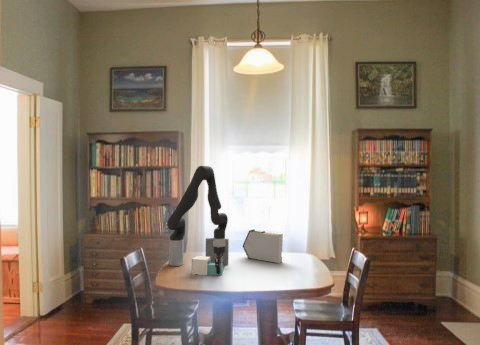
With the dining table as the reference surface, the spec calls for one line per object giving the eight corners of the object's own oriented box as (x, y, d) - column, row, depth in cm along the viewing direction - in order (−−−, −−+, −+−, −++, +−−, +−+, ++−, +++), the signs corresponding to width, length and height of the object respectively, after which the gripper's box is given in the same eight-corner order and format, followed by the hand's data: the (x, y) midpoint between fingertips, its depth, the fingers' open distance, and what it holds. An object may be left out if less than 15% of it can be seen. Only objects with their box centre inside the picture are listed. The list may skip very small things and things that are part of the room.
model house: (284, 232, 252) (248, 227, 268) (279, 233, 245) (242, 229, 261) (283, 261, 253) (248, 255, 269) (278, 264, 245) (242, 257, 261)
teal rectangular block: (199, 274, 218) (199, 264, 218) (201, 272, 223) (201, 262, 223) (221, 275, 217) (221, 265, 217) (222, 272, 221) (222, 263, 221)
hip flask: (228, 263, 244) (228, 235, 243) (227, 265, 239) (228, 236, 239) (205, 263, 245) (206, 234, 245) (204, 264, 241) (205, 235, 241)
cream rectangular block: (191, 274, 218) (191, 259, 218) (195, 270, 226) (195, 256, 226) (207, 275, 216) (207, 259, 216) (210, 271, 224) (210, 256, 224)
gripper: (216, 242, 227) (216, 268, 227) (210, 247, 213) (210, 275, 213) (227, 243, 226) (227, 269, 226) (222, 247, 211) (222, 276, 211)
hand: (219, 272), depth 219 cm, fingers closed on teal rectangular block, 4 cm apart
